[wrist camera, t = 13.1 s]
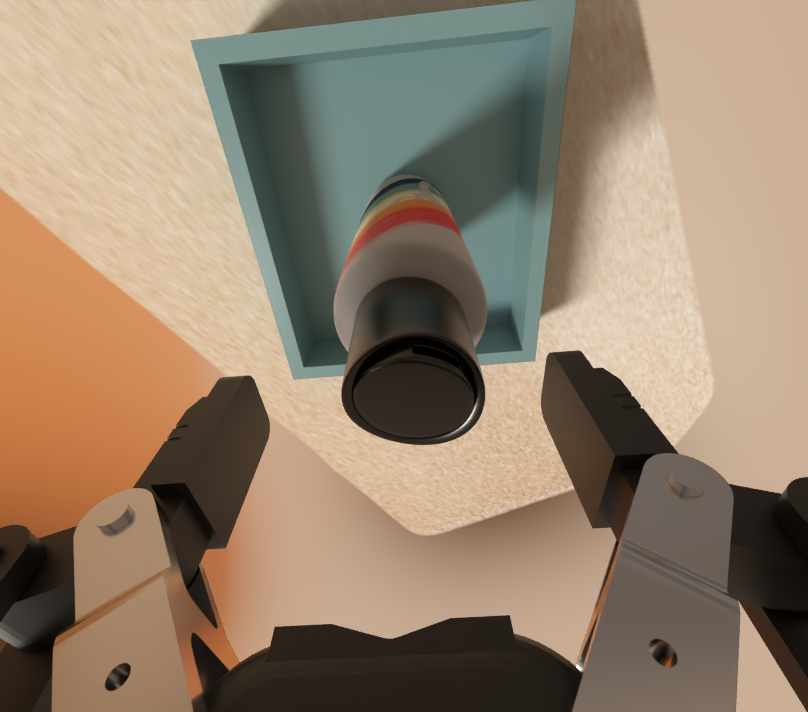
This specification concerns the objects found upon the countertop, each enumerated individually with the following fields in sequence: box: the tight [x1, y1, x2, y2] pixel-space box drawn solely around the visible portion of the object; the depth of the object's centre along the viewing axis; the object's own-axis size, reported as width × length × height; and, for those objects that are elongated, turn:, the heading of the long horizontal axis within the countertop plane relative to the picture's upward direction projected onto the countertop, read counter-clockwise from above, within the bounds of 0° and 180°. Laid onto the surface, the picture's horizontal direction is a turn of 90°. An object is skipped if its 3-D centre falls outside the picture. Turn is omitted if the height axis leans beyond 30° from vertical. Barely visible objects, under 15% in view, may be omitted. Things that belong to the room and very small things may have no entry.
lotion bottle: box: [334, 174, 487, 445], centre depth 18 cm, size 6×6×20 cm
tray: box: [191, 0, 576, 379], centre depth 25 cm, size 20×18×5 cm
